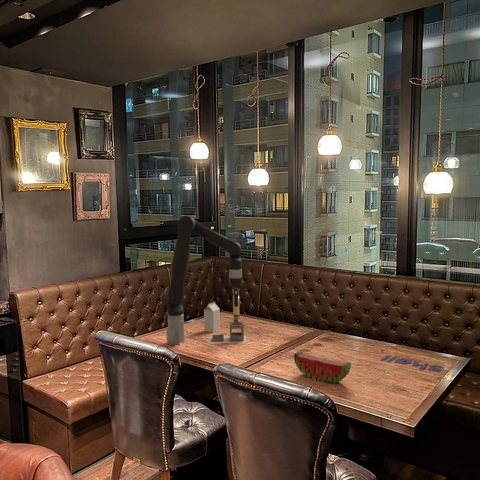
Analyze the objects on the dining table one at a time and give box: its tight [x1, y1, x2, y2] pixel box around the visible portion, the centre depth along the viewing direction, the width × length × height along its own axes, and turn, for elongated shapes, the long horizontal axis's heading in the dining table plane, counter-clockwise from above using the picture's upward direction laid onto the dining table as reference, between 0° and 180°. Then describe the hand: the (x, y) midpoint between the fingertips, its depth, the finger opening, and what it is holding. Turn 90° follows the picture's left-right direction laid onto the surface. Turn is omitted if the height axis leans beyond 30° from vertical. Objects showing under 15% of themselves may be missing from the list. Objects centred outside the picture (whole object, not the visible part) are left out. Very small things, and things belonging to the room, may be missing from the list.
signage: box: [379, 354, 445, 372], centre depth 217 cm, size 28×1×10 cm
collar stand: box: [211, 321, 245, 342], centre depth 255 cm, size 18×8×9 cm, turn 91°
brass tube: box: [232, 295, 241, 323], centre depth 254 cm, size 4×4×16 cm
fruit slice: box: [293, 350, 352, 384], centre depth 200 cm, size 26×6×10 cm, turn 52°
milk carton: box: [203, 301, 221, 333], centre depth 274 cm, size 7×7×19 cm
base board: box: [208, 335, 247, 345], centre depth 256 cm, size 22×14×2 cm, turn 92°
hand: (236, 305), depth 254 cm, fingers closed on brass tube, 3 cm apart
